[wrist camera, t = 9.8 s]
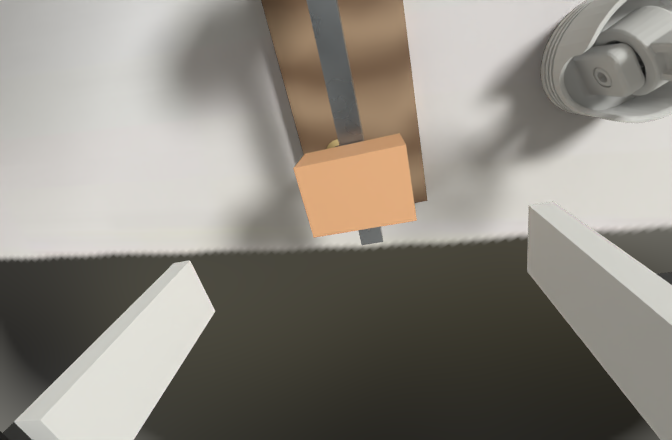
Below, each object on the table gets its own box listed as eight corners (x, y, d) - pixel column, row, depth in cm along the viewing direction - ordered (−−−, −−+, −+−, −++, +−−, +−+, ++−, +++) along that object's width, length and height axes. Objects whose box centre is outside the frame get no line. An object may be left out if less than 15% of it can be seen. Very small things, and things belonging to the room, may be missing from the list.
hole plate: (234, -114, 26) (225, -126, 24) (379, -171, 24) (380, -188, 22) (323, 214, 37) (321, 220, 36) (425, 195, 35) (427, 201, 34)
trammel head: (321, 133, 31) (293, 168, 20) (390, 117, 30) (405, 144, 18) (332, 180, 33) (313, 237, 22) (398, 167, 32) (416, 220, 20)
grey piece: (267, -94, 25) (167, -260, 12) (353, -126, 24) (336, -346, 11) (340, 207, 35) (326, 279, 23) (402, 196, 34) (423, 265, 22)
